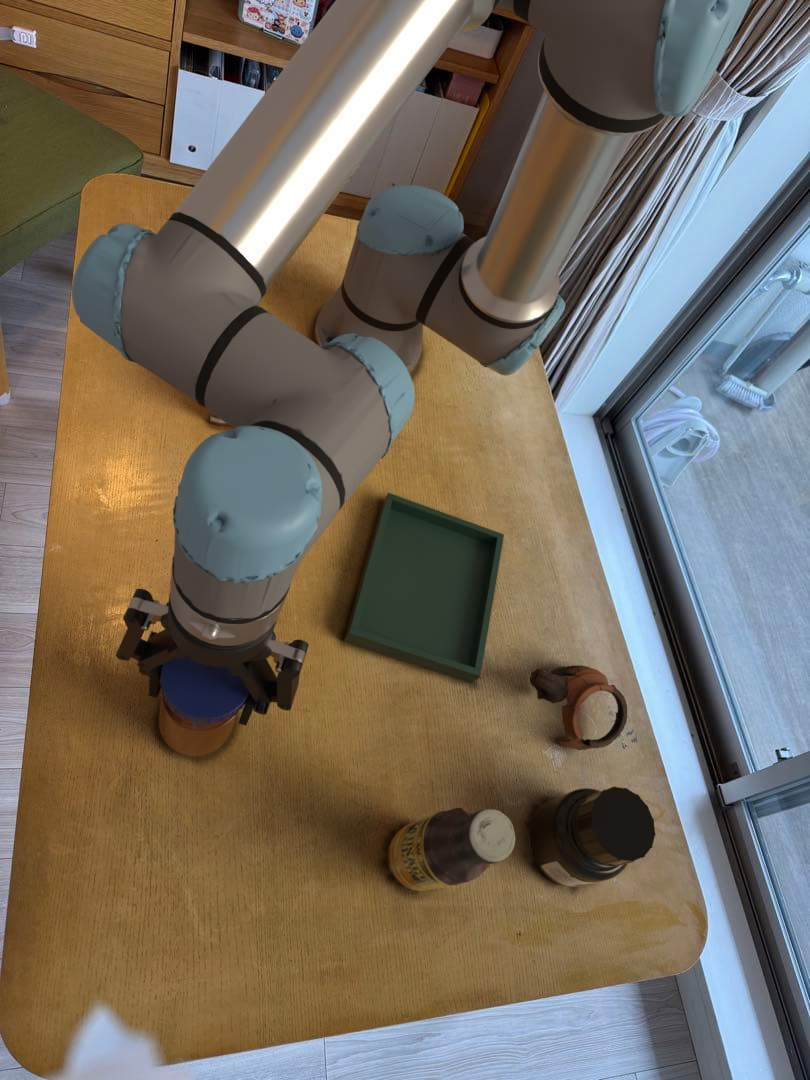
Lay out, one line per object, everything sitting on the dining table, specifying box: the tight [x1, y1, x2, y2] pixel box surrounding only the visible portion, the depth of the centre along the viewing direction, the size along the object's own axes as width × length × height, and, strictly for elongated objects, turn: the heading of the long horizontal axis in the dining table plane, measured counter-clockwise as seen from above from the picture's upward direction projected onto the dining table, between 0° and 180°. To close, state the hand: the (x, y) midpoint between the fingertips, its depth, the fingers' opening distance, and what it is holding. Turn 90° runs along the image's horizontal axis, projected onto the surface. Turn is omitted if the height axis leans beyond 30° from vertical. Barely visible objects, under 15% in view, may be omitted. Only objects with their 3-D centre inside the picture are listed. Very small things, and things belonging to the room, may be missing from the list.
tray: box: [343, 492, 505, 684], centre depth 92 cm, size 20×16×3 cm
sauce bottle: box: [386, 807, 516, 892], centre depth 69 cm, size 6×6×20 cm
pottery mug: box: [528, 664, 628, 751], centre depth 88 cm, size 12×10×8 cm
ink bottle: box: [528, 786, 656, 888], centre depth 78 cm, size 10×9×12 cm
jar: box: [158, 694, 240, 757], centre depth 73 cm, size 7×7×11 cm
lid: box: [159, 657, 250, 725], centre depth 67 cm, size 8×8×2 cm
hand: (202, 697), depth 72 cm, fingers closed on lid, 8 cm apart
